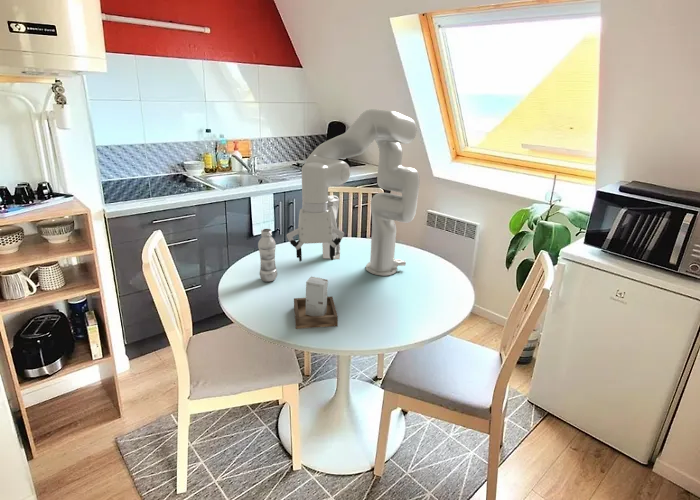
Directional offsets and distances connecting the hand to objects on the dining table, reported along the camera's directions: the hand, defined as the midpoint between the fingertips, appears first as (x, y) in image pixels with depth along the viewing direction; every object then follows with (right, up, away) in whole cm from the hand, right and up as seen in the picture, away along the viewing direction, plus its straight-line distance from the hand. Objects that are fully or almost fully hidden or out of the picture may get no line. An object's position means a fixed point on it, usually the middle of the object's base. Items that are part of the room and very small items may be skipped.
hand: (315, 258), depth 135 cm
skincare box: (0, -18, +8) cm, 20 cm away
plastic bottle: (-20, -9, +31) cm, 38 cm away
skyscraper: (+2, 0, +53) cm, 53 cm away
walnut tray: (-1, -19, +8) cm, 21 cm away
